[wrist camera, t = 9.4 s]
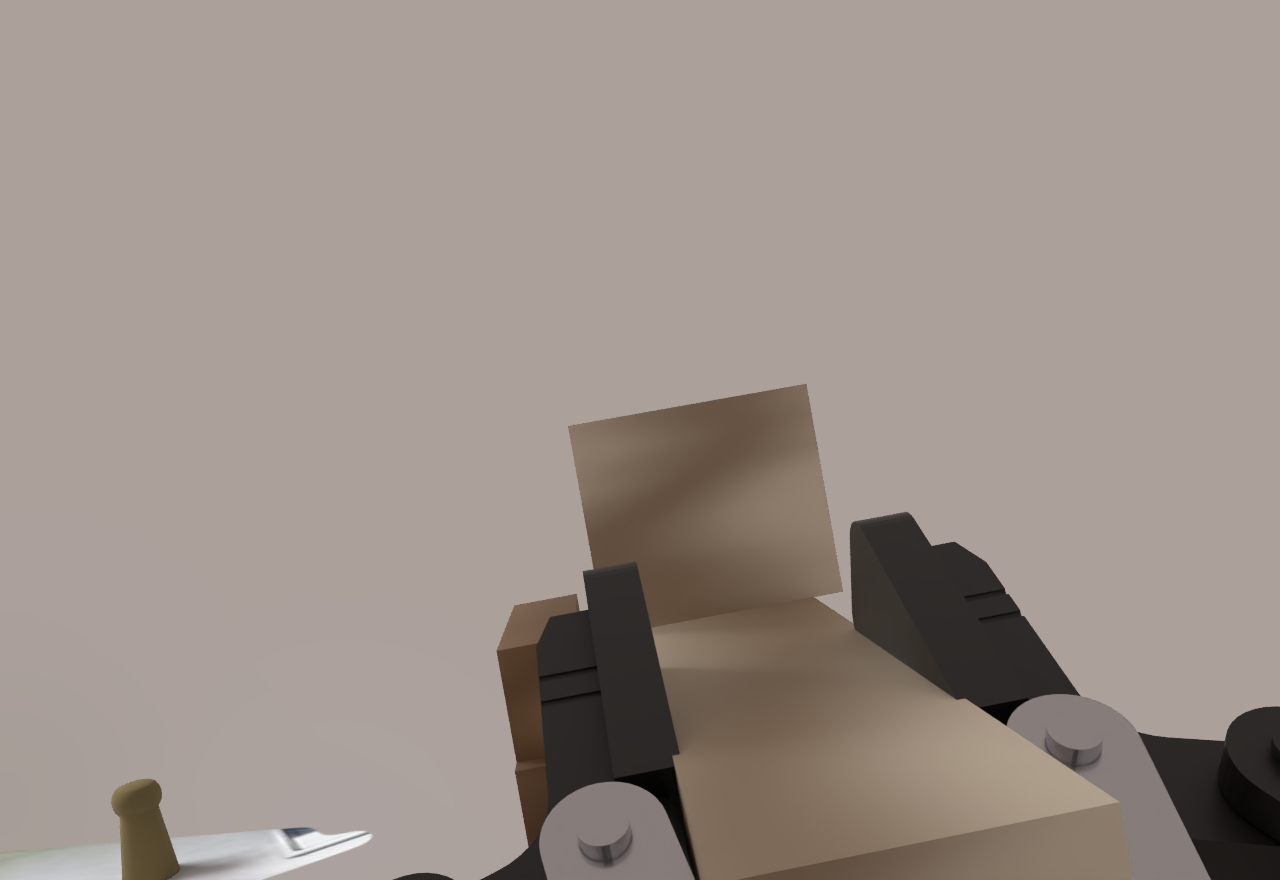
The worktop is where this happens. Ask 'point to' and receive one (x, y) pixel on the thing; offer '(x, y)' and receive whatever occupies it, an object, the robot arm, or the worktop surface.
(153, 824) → the cork
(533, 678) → the offcuts
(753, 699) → the slat
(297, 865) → the worktop surface
